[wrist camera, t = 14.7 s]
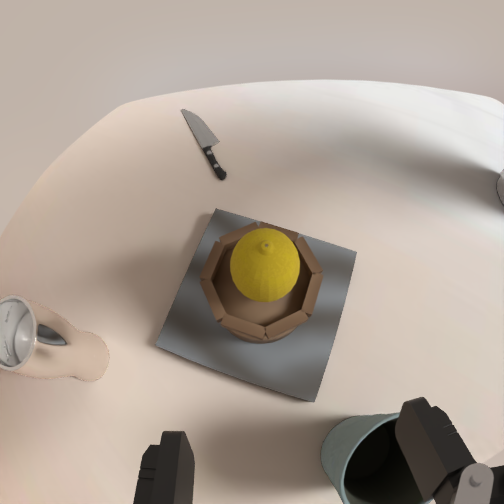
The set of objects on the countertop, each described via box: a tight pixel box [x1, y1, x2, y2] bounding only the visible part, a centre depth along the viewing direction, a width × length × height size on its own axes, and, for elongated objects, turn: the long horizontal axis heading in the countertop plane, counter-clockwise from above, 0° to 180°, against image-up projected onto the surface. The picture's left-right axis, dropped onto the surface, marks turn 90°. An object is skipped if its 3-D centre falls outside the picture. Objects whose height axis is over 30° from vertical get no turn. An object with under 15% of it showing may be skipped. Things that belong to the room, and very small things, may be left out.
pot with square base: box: [156, 209, 357, 402], centre depth 32 cm, size 18×18×9 cm
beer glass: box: [0, 295, 110, 381], centre depth 27 cm, size 7×7×15 cm
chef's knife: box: [181, 109, 226, 180], centre depth 47 cm, size 19×1×3 cm
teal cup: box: [321, 413, 433, 504], centre depth 24 cm, size 10×10×12 cm
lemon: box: [230, 228, 300, 302], centre depth 26 cm, size 6×6×8 cm
